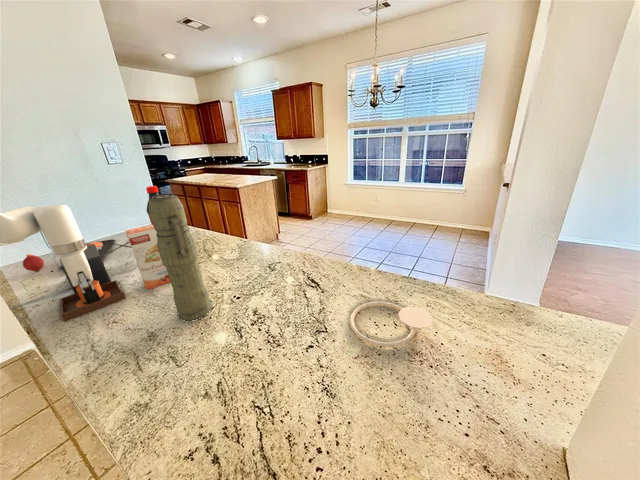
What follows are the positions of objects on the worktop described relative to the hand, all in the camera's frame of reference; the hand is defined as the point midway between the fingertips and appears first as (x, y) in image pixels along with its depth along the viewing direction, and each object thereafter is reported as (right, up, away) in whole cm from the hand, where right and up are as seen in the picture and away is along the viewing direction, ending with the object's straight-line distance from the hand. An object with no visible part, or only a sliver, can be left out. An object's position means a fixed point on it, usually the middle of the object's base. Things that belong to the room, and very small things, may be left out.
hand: (92, 297), depth 85 cm
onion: (-43, +5, +23) cm, 49 cm away
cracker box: (+18, +4, +11) cm, 21 cm away
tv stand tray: (0, -2, +1) cm, 2 cm away
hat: (0, -1, +1) cm, 1 cm away
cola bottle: (+6, +13, +34) cm, 37 cm away
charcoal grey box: (-11, +2, +12) cm, 16 cm away
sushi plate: (-24, +13, +38) cm, 46 cm away
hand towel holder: (+92, -4, -16) cm, 93 cm away
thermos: (+37, -3, -7) cm, 37 cm away
